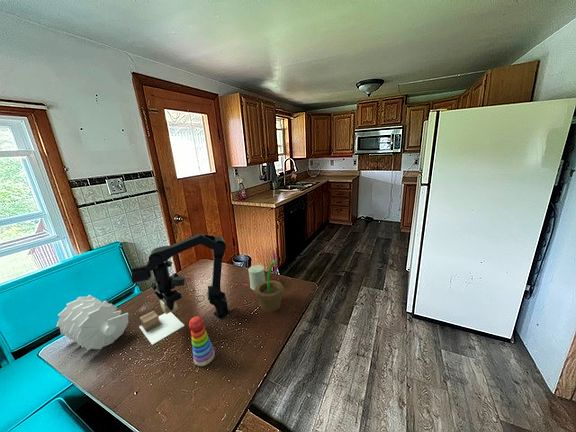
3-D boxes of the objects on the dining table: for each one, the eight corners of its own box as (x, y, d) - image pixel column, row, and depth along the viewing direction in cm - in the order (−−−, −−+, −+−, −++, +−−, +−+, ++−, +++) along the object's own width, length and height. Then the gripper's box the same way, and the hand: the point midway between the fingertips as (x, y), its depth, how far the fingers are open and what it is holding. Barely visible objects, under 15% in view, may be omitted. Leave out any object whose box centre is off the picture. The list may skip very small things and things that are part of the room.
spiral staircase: (105, 360, 96) (74, 341, 106) (139, 320, 108) (108, 306, 118) (70, 343, 84) (39, 323, 94) (112, 300, 96) (80, 286, 106)
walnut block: (160, 324, 108) (158, 315, 107) (146, 332, 104) (143, 323, 103) (155, 319, 112) (153, 310, 111) (142, 326, 108) (139, 317, 107)
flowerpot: (286, 312, 112) (282, 256, 103) (257, 317, 110) (250, 260, 102) (282, 295, 125) (278, 244, 117) (256, 299, 123) (250, 247, 115)
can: (247, 289, 133) (245, 271, 129) (254, 281, 141) (252, 263, 138) (262, 291, 130) (260, 272, 127) (268, 282, 138) (266, 264, 135)
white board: (184, 326, 107) (184, 325, 107) (152, 345, 97) (151, 344, 97) (169, 311, 118) (169, 310, 118) (139, 327, 108) (139, 326, 108)
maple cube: (166, 314, 100) (163, 304, 99) (161, 309, 103) (159, 300, 102) (177, 308, 104) (175, 298, 102) (173, 304, 107) (170, 294, 106)
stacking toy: (208, 346, 95) (200, 307, 90) (219, 356, 90) (211, 315, 85) (189, 360, 89) (180, 319, 84) (200, 371, 84) (191, 329, 79)
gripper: (190, 275, 99) (196, 306, 103) (172, 263, 111) (178, 291, 115) (163, 287, 91) (171, 320, 95) (146, 273, 103) (154, 303, 107)
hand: (169, 307), depth 103 cm, fingers closed on maple cube, 5 cm apart
